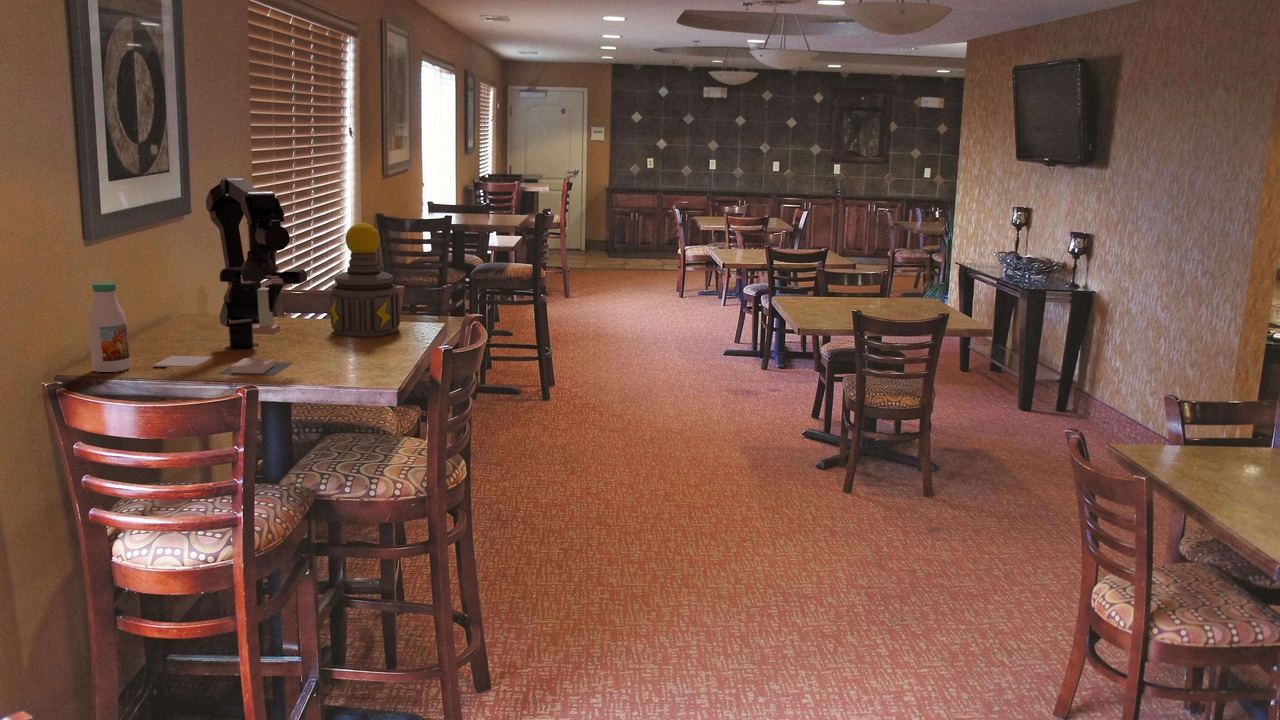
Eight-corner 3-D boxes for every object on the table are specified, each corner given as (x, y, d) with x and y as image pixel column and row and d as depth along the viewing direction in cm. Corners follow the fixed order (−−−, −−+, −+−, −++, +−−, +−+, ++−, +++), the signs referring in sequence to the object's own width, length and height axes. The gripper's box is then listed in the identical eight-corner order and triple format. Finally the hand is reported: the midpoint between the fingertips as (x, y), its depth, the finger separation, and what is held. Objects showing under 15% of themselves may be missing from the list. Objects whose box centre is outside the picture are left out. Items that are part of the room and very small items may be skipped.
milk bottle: (89, 374, 232) (80, 286, 227) (96, 367, 239) (88, 281, 234) (127, 373, 234) (119, 285, 229) (133, 365, 241) (125, 280, 237)
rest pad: (171, 358, 249) (171, 355, 249) (213, 359, 249) (213, 356, 249) (152, 367, 239) (152, 365, 239) (196, 368, 239) (196, 366, 239)
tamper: (259, 330, 248) (256, 287, 245) (280, 331, 248) (277, 287, 245) (252, 333, 244) (250, 289, 241) (274, 334, 244) (271, 290, 241)
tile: (244, 358, 241) (231, 365, 233) (274, 358, 241) (262, 366, 233) (244, 365, 241) (231, 373, 233) (274, 366, 241) (262, 374, 233)
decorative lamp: (354, 341, 273) (349, 227, 267) (317, 330, 286) (312, 221, 279) (414, 332, 287) (411, 223, 280) (377, 322, 299) (373, 218, 293)
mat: (238, 363, 245) (238, 361, 245) (293, 364, 245) (293, 362, 245) (216, 376, 233) (216, 374, 232) (274, 377, 233) (274, 375, 233)
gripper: (207, 248, 233) (212, 316, 237) (290, 251, 233) (293, 319, 237) (227, 242, 244) (231, 307, 248) (306, 245, 244) (309, 310, 248)
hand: (265, 311), depth 245 cm, fingers closed on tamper, 2 cm apart
